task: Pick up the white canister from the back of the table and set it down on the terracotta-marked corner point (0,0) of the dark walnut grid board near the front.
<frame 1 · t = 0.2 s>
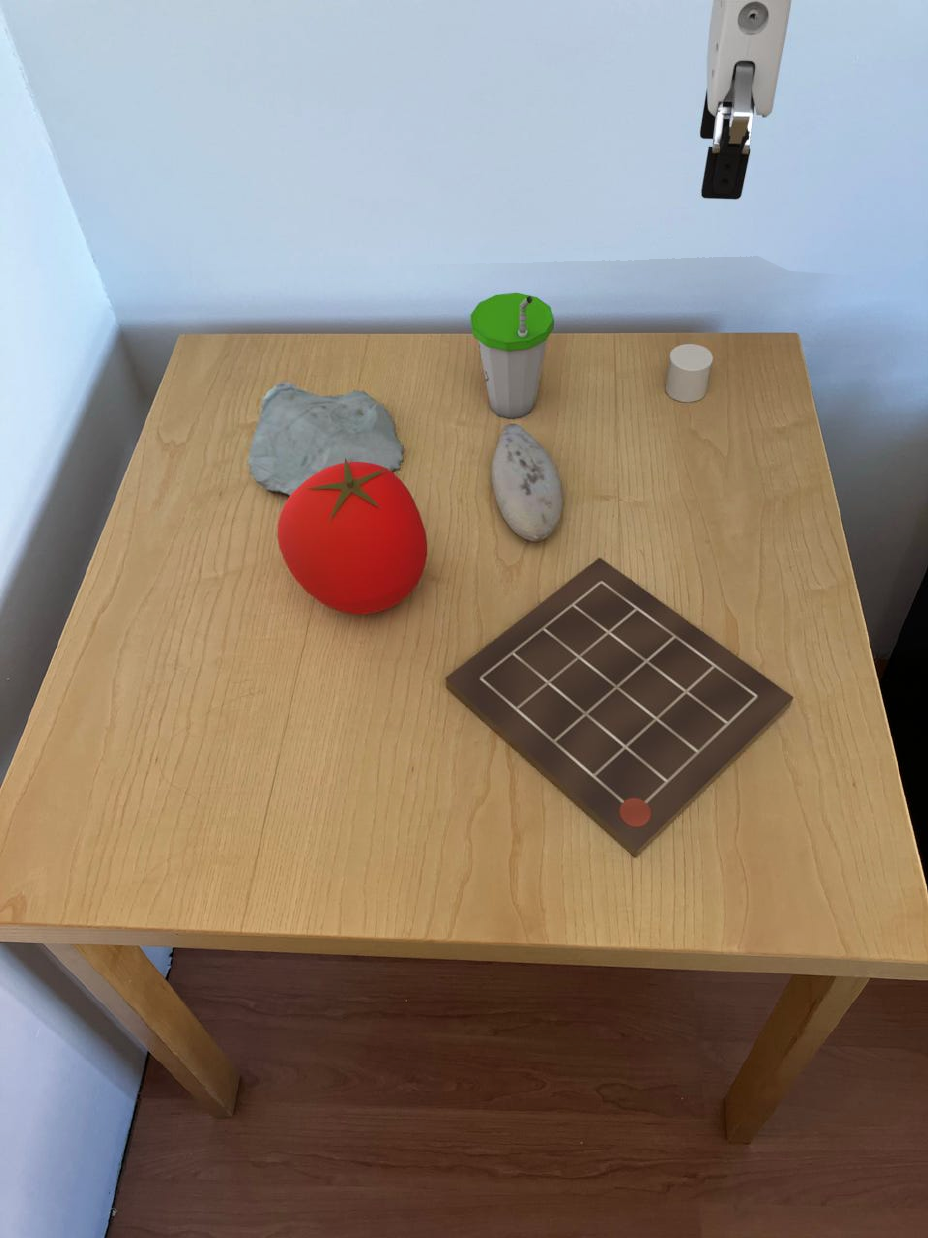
hand: (719, 166, 81), 22 cm above the table, tool pointing down, fingers open, 9 cm apart
white canister: (685, 388, 98), on the table
cup: (512, 405, 98), on the table
stone: (324, 453, 95), on the table
board: (633, 821, 69), on the table
tomato: (363, 587, 84), on the table
decorative stone: (525, 494, 90), on the table
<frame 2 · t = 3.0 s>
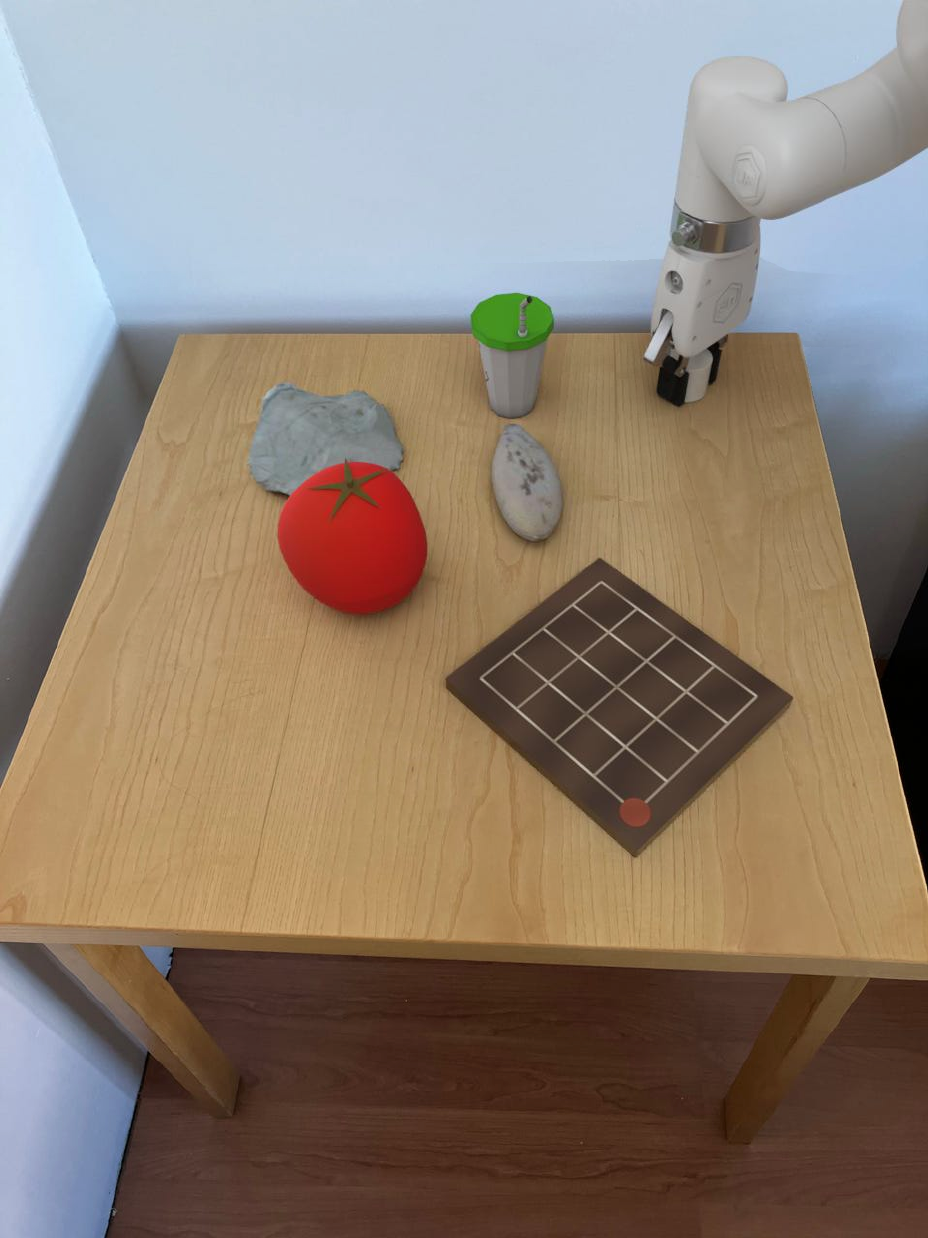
hand: (686, 386, 98), 0 cm above the table, tool pointing down, fingers closed on white canister, 4 cm apart
white canister: (685, 388, 98), on the table, touching gripper
everything else where it was.
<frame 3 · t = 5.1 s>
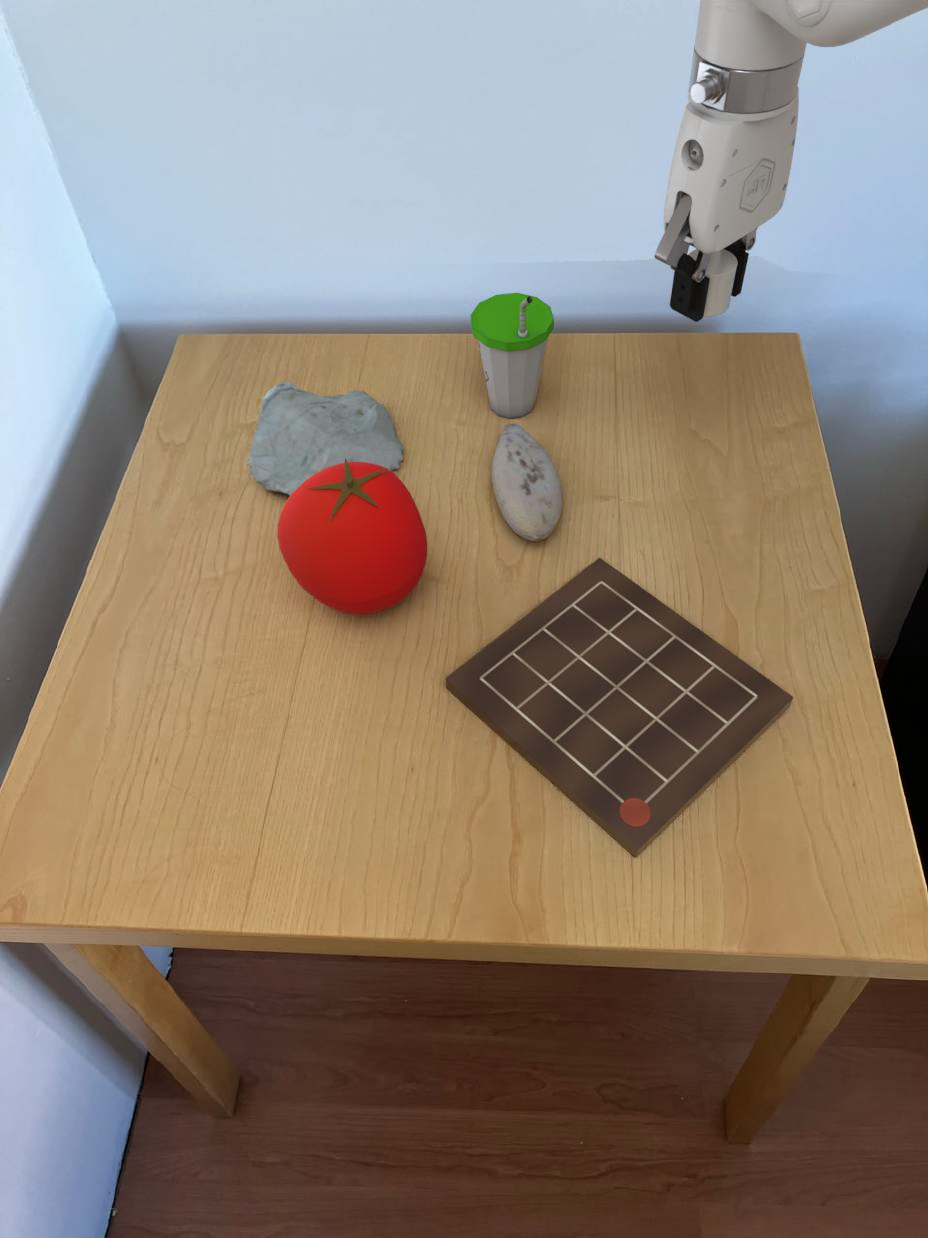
hand: (705, 299, 82), 15 cm above the table, tool pointing down, fingers closed on white canister, 4 cm apart
white canister: (704, 302, 82), point 15 cm above the table, touching gripper
everything else where it was.
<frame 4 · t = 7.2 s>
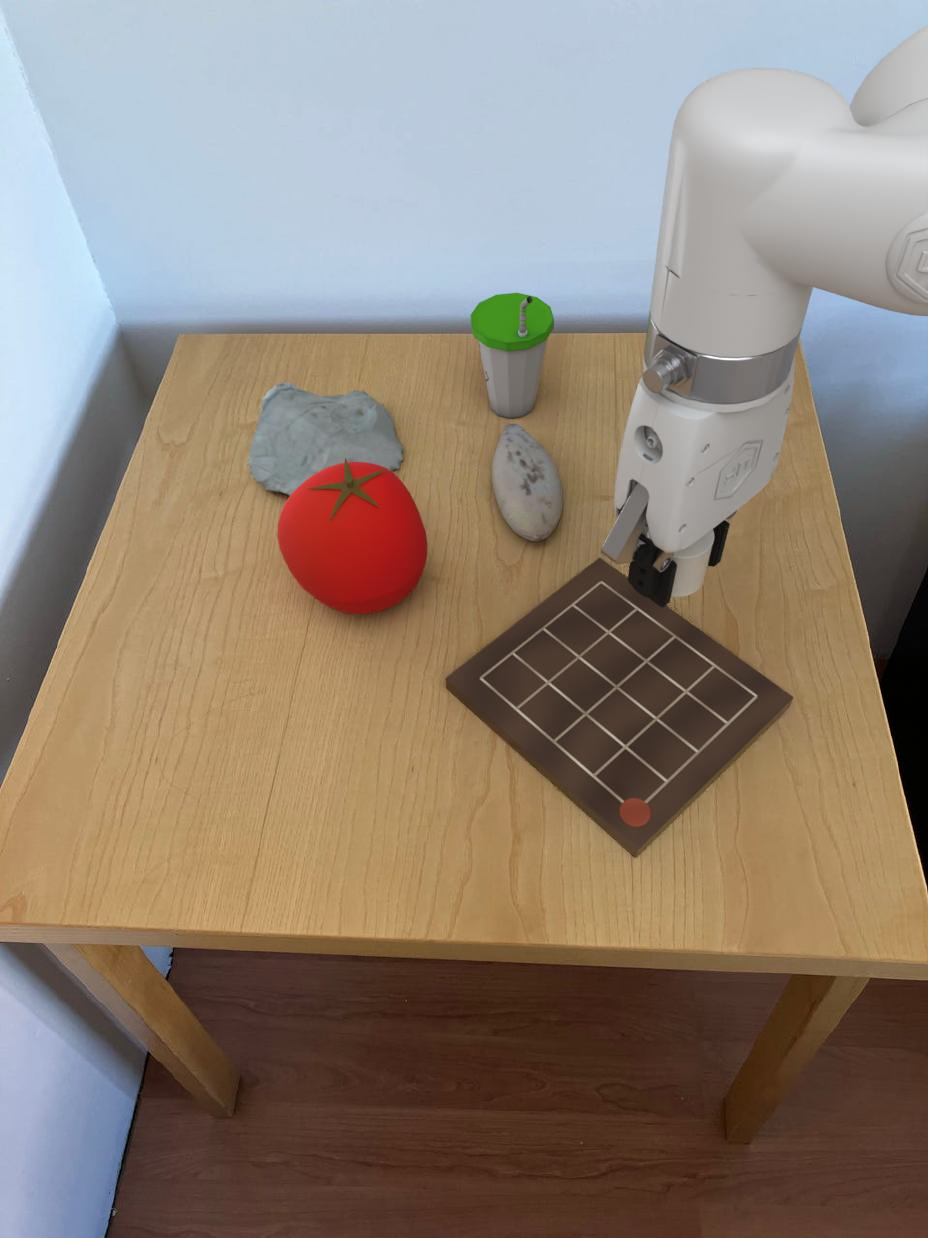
hand: (674, 571, 64), 15 cm above the table, tool pointing down, fingers closed on white canister, 4 cm apart
white canister: (672, 573, 64), point 15 cm above the table, touching gripper
everything else where it was.
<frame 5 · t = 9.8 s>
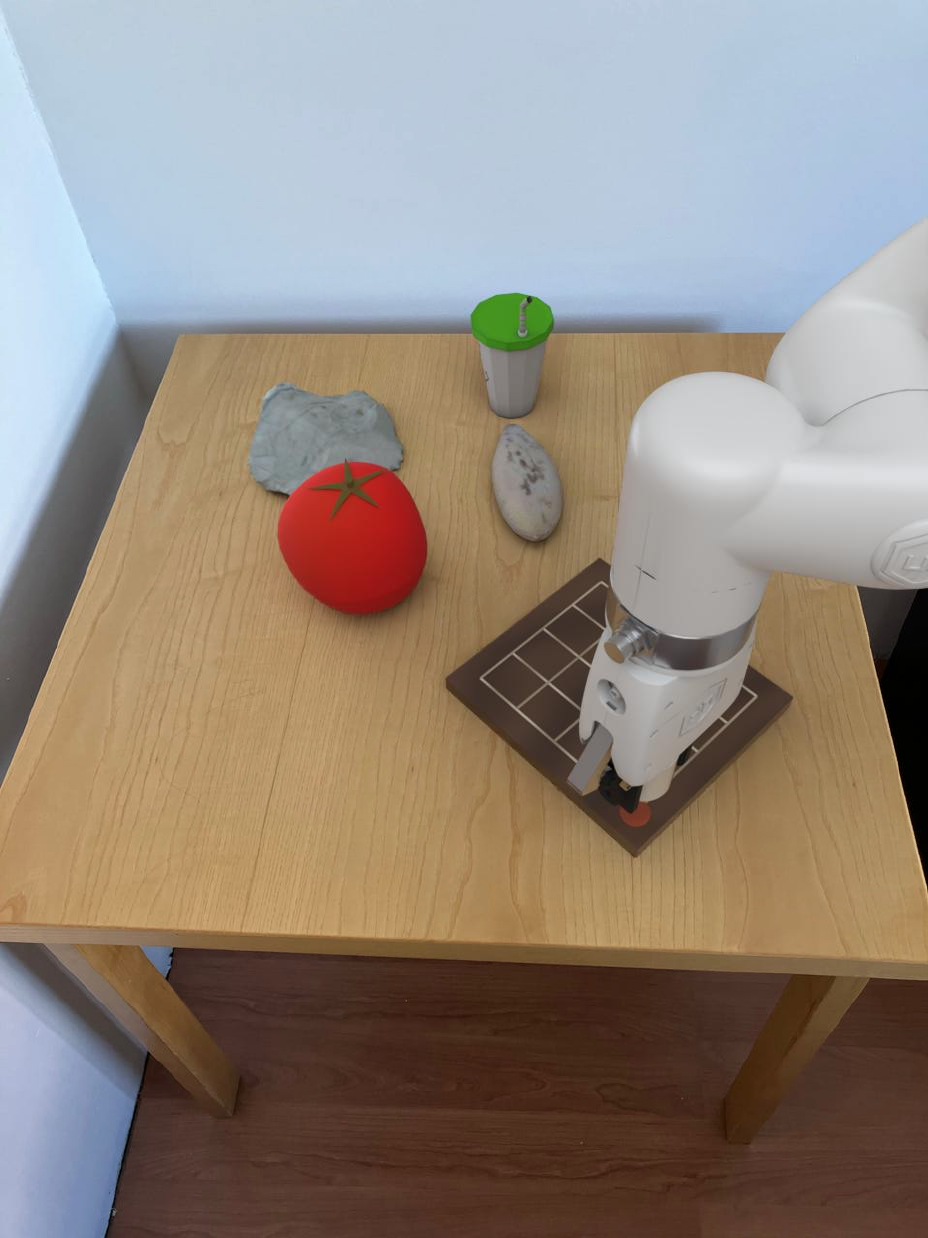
hand: (641, 771, 63), 8 cm above the table, tool pointing down, fingers closed on white canister, 4 cm apart
white canister: (640, 773, 63), point 7 cm above the table, touching gripper
everything else where it was.
when the fingers open (2 cm above the table, at t = 11.5 s): white canister stays where it is, resting on board.
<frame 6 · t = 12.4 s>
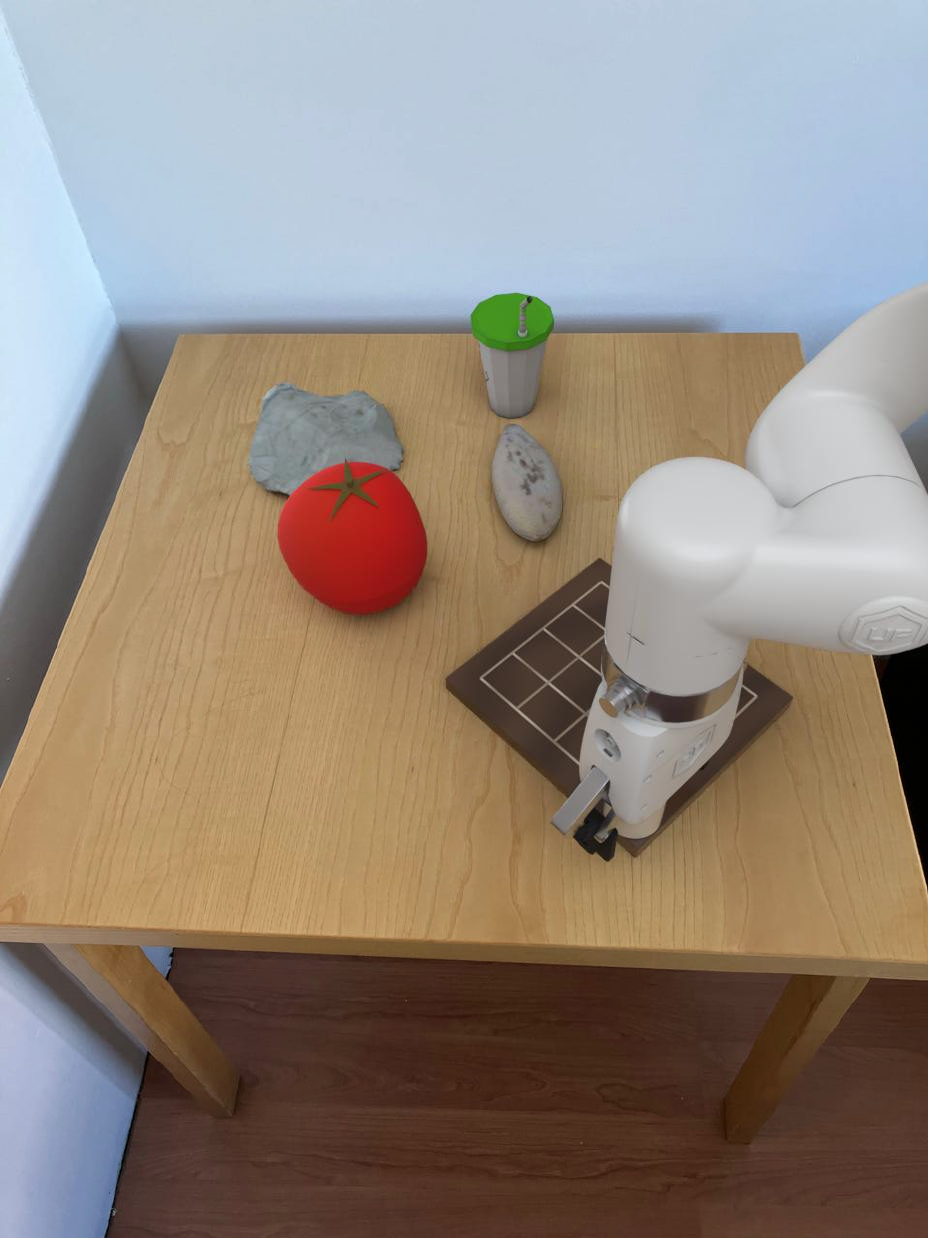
hand: (641, 799, 66), 4 cm above the table, tool pointing down, fingers open, 9 cm apart
white canister: (632, 811, 68), point 2 cm above the table, touching board
everything else where it was.
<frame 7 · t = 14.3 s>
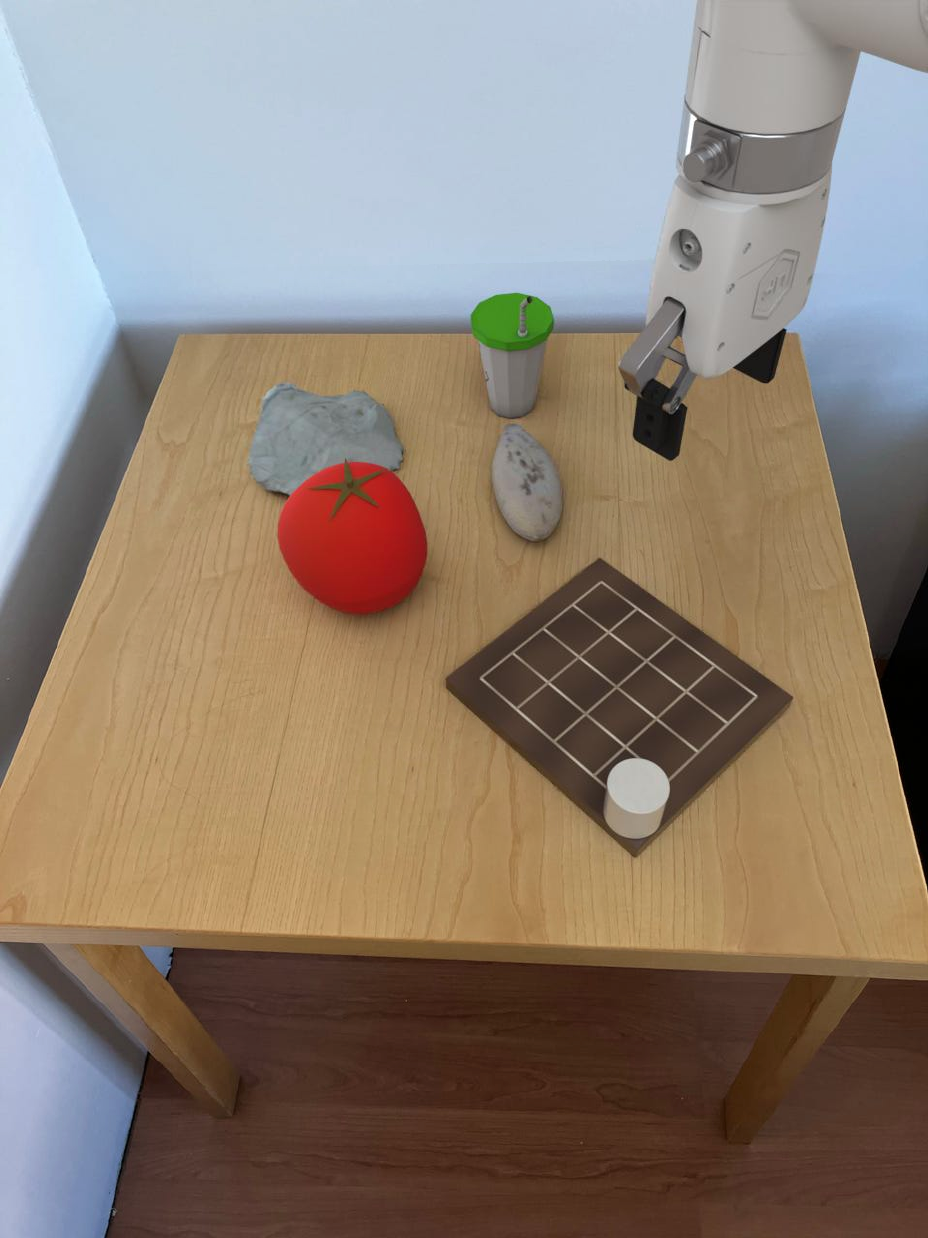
hand: (704, 409, 61), 24 cm above the table, tool pointing down, fingers open, 9 cm apart
nothing on the table moved.
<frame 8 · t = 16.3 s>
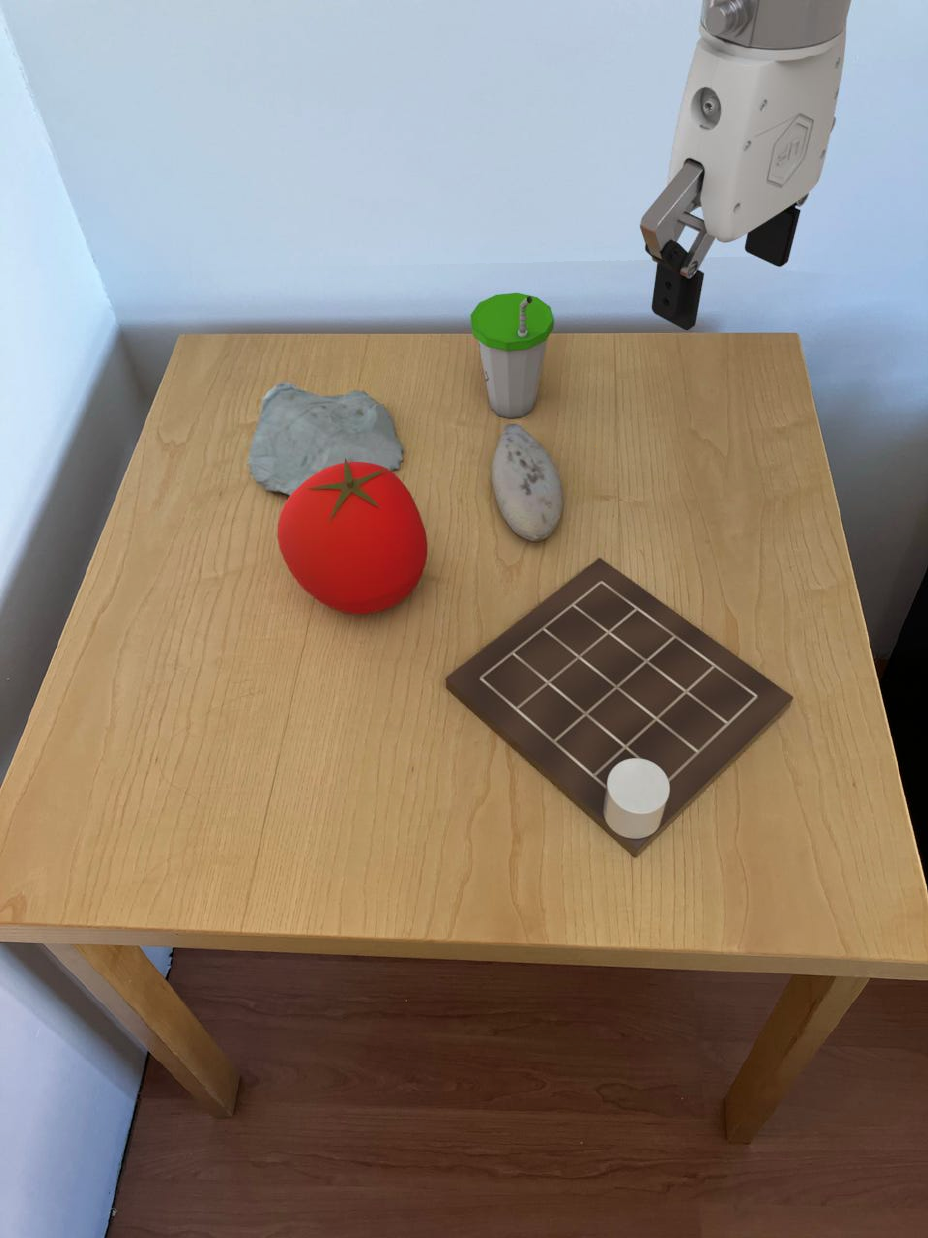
hand: (720, 287, 64), 26 cm above the table, tool pointing down, fingers open, 9 cm apart
nothing on the table moved.
at the end: white canister 0.1 cm off-centre on the board, point 1.6 cm above the board's base; white canister tilted 0°; the gripper is holding nothing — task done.
